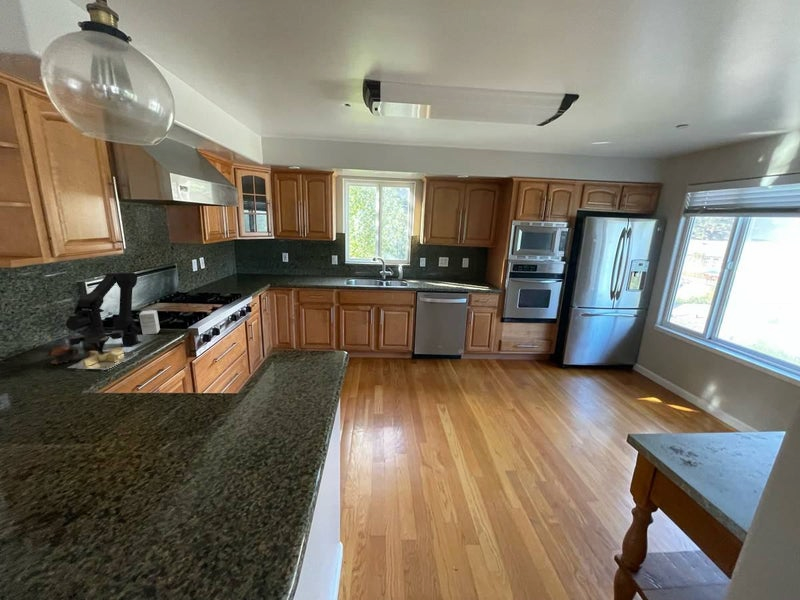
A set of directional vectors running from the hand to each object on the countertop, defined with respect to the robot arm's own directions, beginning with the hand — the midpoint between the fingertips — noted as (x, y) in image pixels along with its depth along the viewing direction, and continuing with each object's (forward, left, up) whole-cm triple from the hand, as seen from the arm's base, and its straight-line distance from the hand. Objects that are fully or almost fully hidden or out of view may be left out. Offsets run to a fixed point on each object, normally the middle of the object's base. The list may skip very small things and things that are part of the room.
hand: (101, 353), depth 159 cm
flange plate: (+4, +4, -3) cm, 6 cm away
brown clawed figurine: (+3, -16, -3) cm, 16 cm away
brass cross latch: (+4, +4, -1) cm, 6 cm away
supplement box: (-37, -4, -3) cm, 38 cm away
